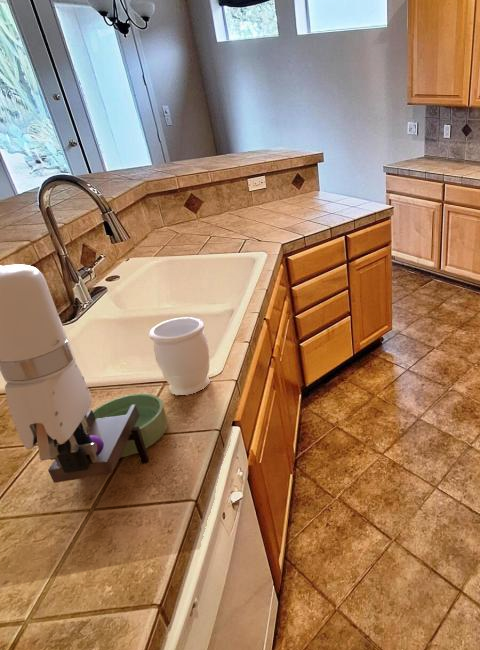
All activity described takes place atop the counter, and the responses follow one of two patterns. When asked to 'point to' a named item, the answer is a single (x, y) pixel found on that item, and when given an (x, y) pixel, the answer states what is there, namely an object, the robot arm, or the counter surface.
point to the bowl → (149, 418)
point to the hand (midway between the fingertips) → (81, 463)
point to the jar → (182, 354)
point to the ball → (99, 443)
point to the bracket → (139, 444)
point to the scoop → (114, 441)
